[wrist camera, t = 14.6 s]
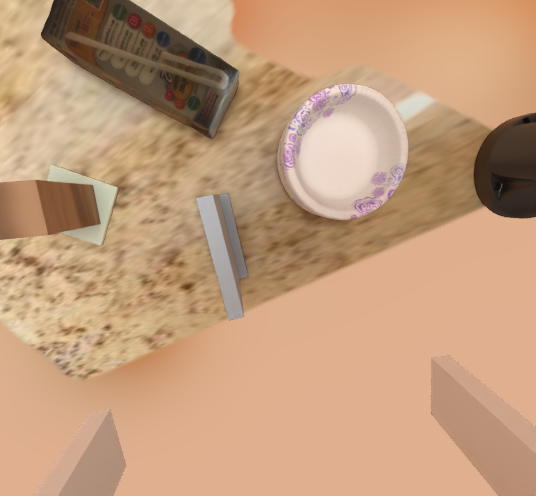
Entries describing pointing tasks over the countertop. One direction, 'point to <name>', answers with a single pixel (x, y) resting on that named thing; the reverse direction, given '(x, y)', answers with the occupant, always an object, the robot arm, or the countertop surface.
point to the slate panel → (224, 250)
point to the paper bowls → (343, 152)
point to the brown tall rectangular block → (45, 208)
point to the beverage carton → (144, 59)
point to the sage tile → (103, 198)
